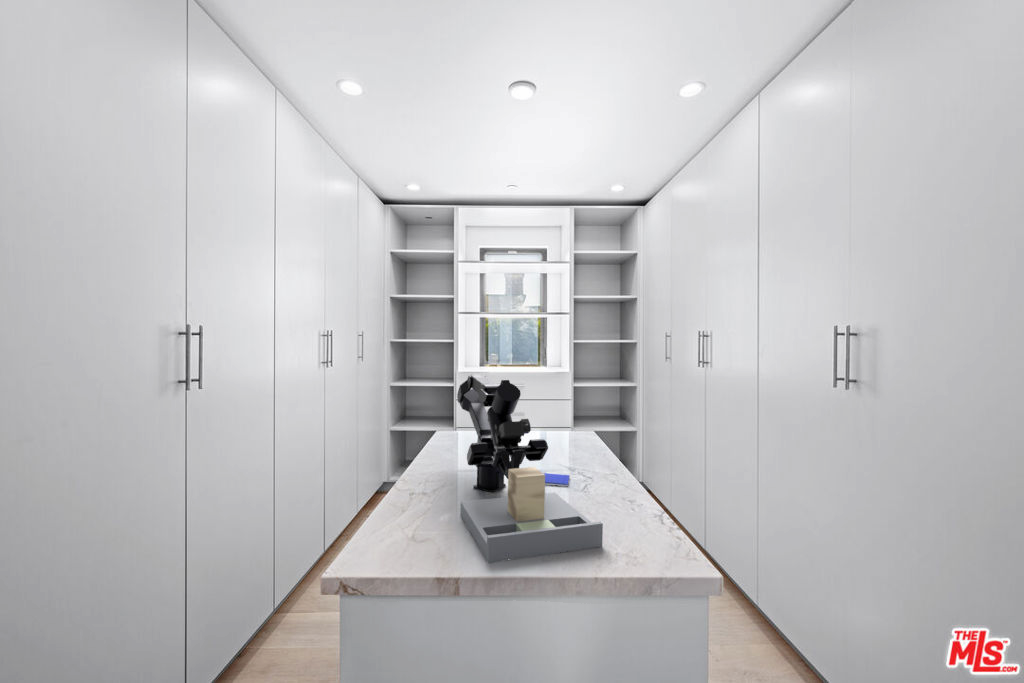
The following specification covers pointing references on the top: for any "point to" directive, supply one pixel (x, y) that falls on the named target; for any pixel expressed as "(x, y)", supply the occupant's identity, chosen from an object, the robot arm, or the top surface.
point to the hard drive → (556, 479)
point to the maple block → (526, 493)
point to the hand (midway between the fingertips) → (515, 485)
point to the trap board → (529, 529)
